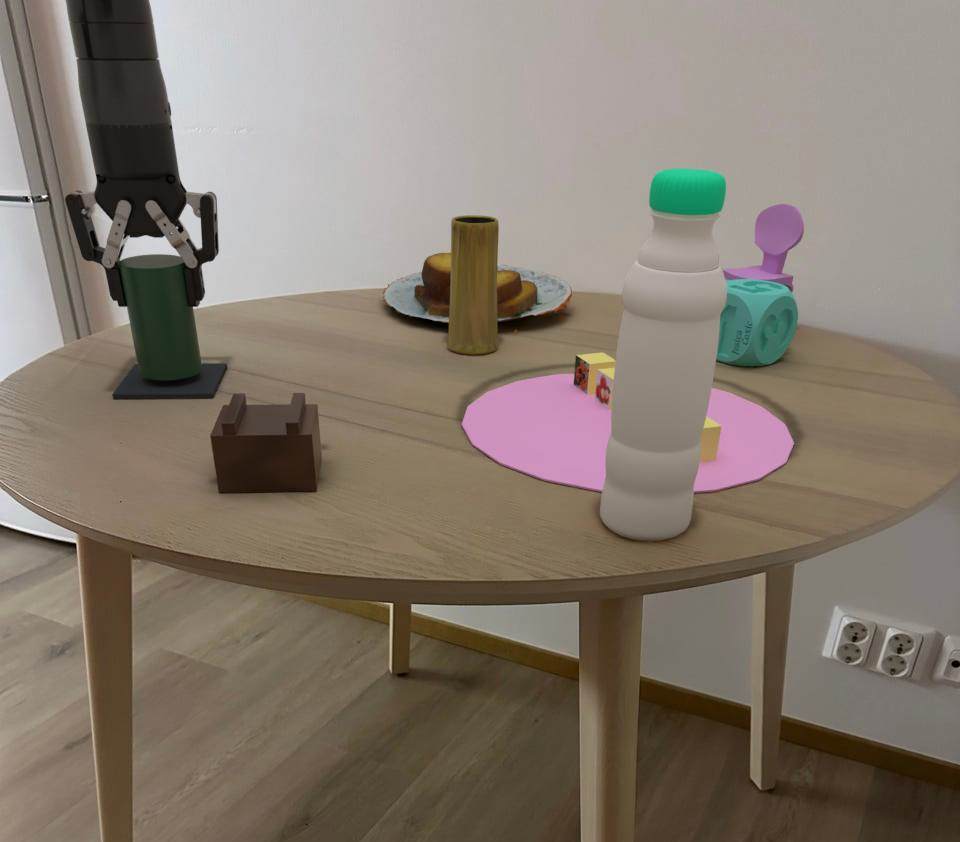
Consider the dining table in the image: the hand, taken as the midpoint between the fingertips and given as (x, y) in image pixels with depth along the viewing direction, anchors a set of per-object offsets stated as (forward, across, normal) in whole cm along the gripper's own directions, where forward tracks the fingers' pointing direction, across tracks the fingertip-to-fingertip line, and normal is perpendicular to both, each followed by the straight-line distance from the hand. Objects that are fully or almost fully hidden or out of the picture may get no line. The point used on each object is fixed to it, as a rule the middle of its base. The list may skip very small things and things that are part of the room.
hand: (160, 304), depth 94 cm
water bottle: (+8, +43, -35) cm, 56 cm away
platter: (+8, +46, -14) cm, 49 cm away
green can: (+1, 0, 0) cm, 1 cm away
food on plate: (+8, +35, +30) cm, 47 cm away
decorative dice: (+8, +65, +8) cm, 66 cm away
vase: (+8, +33, +12) cm, 36 cm away
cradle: (+8, +13, -24) cm, 29 cm away
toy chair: (+8, +69, +18) cm, 72 cm away
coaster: (+8, 0, 0) cm, 8 cm away
